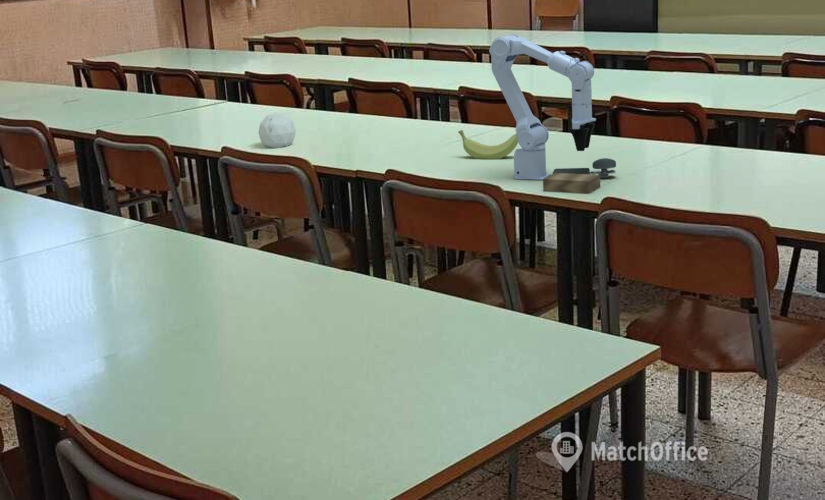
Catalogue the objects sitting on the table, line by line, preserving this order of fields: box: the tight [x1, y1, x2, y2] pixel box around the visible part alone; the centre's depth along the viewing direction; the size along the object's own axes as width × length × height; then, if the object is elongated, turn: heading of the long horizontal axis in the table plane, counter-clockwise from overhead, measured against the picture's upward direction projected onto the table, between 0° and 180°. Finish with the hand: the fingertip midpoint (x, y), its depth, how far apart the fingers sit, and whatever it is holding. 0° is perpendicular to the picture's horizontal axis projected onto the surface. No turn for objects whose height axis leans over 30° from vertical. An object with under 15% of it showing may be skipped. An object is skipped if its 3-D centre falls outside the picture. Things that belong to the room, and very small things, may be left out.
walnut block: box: [542, 173, 601, 195], centre depth 308 cm, size 14×9×4 cm, turn 59°
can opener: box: [552, 157, 617, 179], centre depth 321 cm, size 19×5×6 cm, turn 78°
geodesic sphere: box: [258, 112, 297, 149], centre depth 402 cm, size 15×14×14 cm
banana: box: [457, 129, 519, 160], centre depth 357 cm, size 14×6×20 cm
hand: (582, 149), depth 316 cm, fingers open, 4 cm apart
